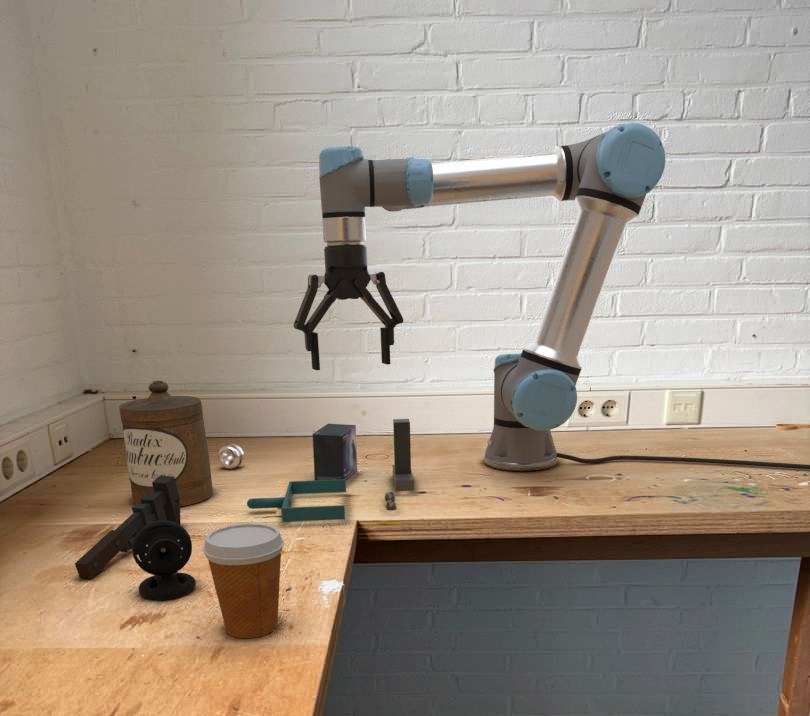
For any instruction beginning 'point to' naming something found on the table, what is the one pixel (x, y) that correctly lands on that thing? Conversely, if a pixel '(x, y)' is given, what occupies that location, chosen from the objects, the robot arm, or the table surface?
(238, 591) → the disposable coffee cup
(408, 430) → the gray l-shaped block
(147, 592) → the webcam
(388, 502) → the glossy brown capsule
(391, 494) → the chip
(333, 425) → the small box
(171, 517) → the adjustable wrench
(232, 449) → the grooved metal pulley
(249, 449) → the table surface
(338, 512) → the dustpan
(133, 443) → the wooden container
